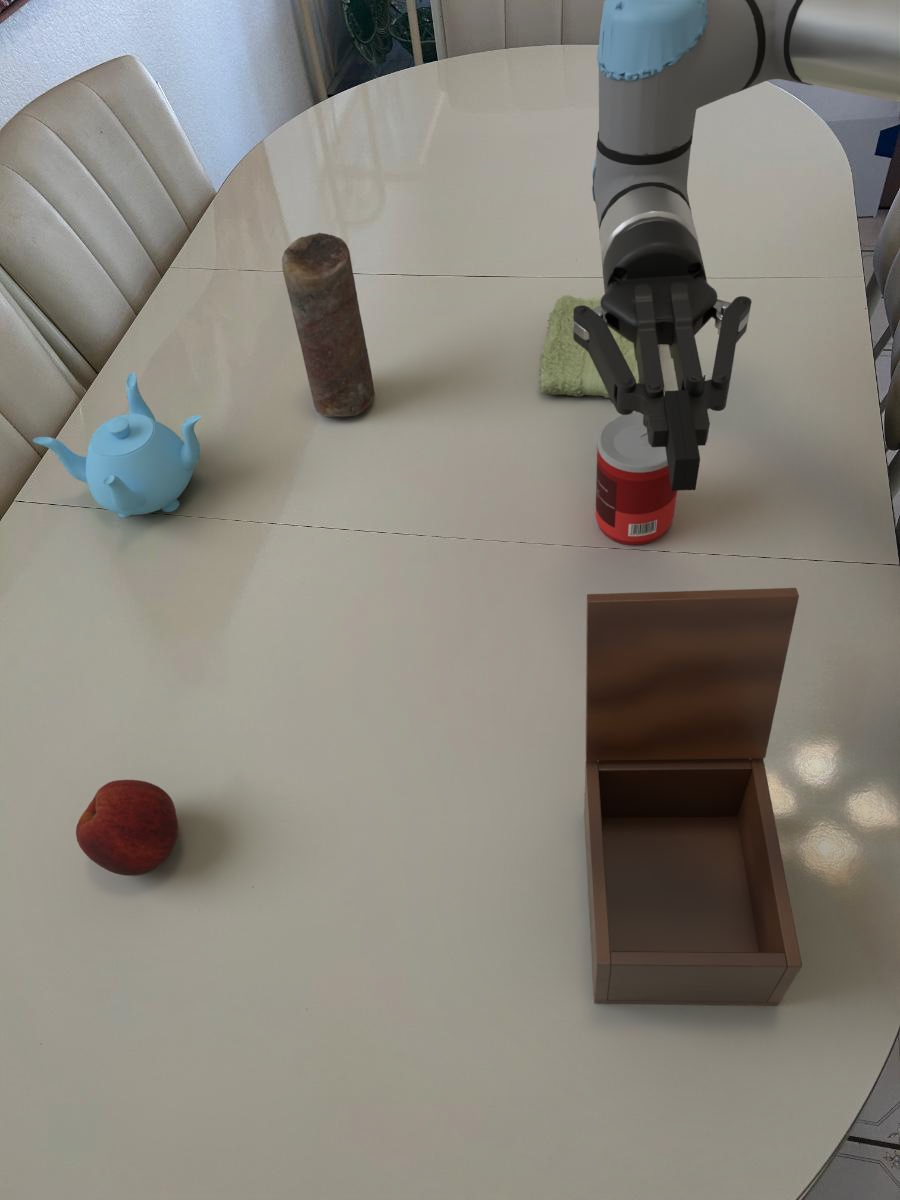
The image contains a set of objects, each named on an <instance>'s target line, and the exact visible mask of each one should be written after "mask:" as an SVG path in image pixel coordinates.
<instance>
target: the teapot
mask: <svg viewBox="0 0 900 1200" xmlns="http://www.w3.org/2000/svg"><path fill="white" fill-rule="evenodd" d="M125 387H126V388H125V389H126V395H127V401H128V409H129V413H126V414H125V413H124V414H120V415H117V416H115V417H114V416H113V417H111V418H110V419H107V420H106V421H105V422H103V423H102V424H100V426H98V428H96V430H95V431H94V432H93V434H92V436H91V439H90V441H89V444H88V449H87V454H86V456H82V455H79V454H76V453H75V452H73V451H72V450H71V449H69V447H67V446H66V445H65V444H64V443H63V442H62V441H60V440H58V439H56V438H55V437H50V436H38V437H35V438H32V442H33V443H34V444H37V445H40V446H42V447H46V448H47V449H49V450H51V451H52V453H54V454H55V456H56V457H57V458H58V460H59V461H60V463H61V464H62V466H63V468H65V470H66V471H67V473H68V474H69V475H70V476H72V477H73V478H74V479H76V480H78V481H79V482H82V483H84V484H85V483H86V484H87V486H88V489H89V492H90V494H91V496H92V497H93V499H94V501H95V502H96V503H97V504H98V505H99V506H101V507H102V508H104V509H106V510H108V511H109V512H114V513H117V515H118V517H120V518H128V517H130V516H137V515H138V516H139V515H140V516H141V515H145V514H151V513H154V512H156V511H159V510H162V512H166V513H171V512H173V511H175V510H176V509H178V508H179V505H180V501H179V500H178V498H179V497H180V496H181V495H182V494H183V492H184V491H185V489H186V488H187V486H188V485H189V483H190V481H191V479H192V476H193V471H194V467H196V466H197V464H198V461H199V460H200V458H201V445H200V442H199V439H198V437H197V435H196V432H195V426H196V424H197V423H198V421H199V420H201V417H202V416H201V415H200V414H195V415H193V416H190V417H188V418H187V419H186V420H184V421H183V423H182V425H181V434H182V438H183V439H182V438H181V437H180V435H178V434H177V433H176V432H175V431H174V430H173V429H171V428H170V427H168V426H167V425H165V424H163V423H161V422H160V421H158V420H156V418H155V415H154V413H153V411H152V410H151V408H150V407H149V406H148V404H147V403H146V401H145V400H144V398H143V396H142V394H141V392H140V389H139V386H138V380H137V375H136V374H135V372H130V373H128V376H127V378H126V383H125Z"/></svg>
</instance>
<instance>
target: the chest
mask: <svg viewBox="0 0 900 1200" xmlns="http://www.w3.org/2000/svg"><path fill="white" fill-rule="evenodd" d="M584 770H585V771H584V772H585V773H584V801H583V802H584V804H583V805H584V807H583V818H584V836H585V852H586V853H585V856H586V873H587V877H586V878H587V892H588V893H587V895H588V909H589V910H588V911H589V912H588V913H589V931H590V950H591V951H590V952H591V966H592V967H591V968H592V971H591V972H592V989H593V1003H594V1004H599V1005H600V1004H601V1005H602V1004H604V1005H605V1004H606V1005H609V1004H610V1005H614V1004H615V1005H677V1006H679V1005H681V1006H743V1007H744V1006H745V1007H747V1006H749V1007H750V1006H751V1007H753V1006H754V1007H778V1006H780V1004H781V1001H782V1000H783V998H784V996H785V995H786V993H787V992H788V990H789V989H790V987H791V985H792V984H793V982H794V981H795V979H796V977H797V976H798V975H799V973H800V971H801V969H802V968H803V963H802V958H801V952H800V947H799V942H798V936H797V932H796V926H795V921H794V916H793V915H794V914H793V909H792V903H791V899H790V894H789V888H788V883H787V878H786V872H785V867H784V861H783V857H782V852H781V851H782V850H781V845H780V841H779V840H780V839H779V836H778V830H777V825H776V820H775V814H774V808H773V803H772V798H771V791H770V787H769V781H768V776H767V772H766V765H765V761H764V758H750V759H669V760H589V761H587V760H586V759H585V768H584Z"/></svg>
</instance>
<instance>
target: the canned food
mask: <svg viewBox="0 0 900 1200" xmlns="http://www.w3.org/2000/svg"><path fill="white" fill-rule="evenodd" d="M643 416H644V415H643V414H641V413H639V412H636V411H633V412H632V413H631V414H629V415H622V414H620V415H619V416H616V417H614V418H613V419H611V420H609V421H608V422H607V423H606V424H604V426H603V427H602V428H601V430H600V432H599V435H598V440H597V452H596V477H595V478H596V481H595V521H596V523H597V525H598V527H599V529H600V531H601V532H602V533H603V535H604V536H606V537H607V538H608V539H610V540H612V541H613V542H615V543H618V544H621V545H627V546H642V545H646V544H650V543H652V542H655V541H656V540H658V539H659V538H661V537H662V536H664V535H665V533H667V531H668V529H669V528H670V526H671V524H672V523H673V520H674V517H675V512H676V511H675V510H676V504H677V496H678V491H672V489H671V483H670V476H669V469H668V462H667V456H666V449H665V447H652V446H651V445H650V444H649V442H648V435H647V427H645V426H644V425H643Z"/></svg>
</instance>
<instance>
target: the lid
mask: <svg viewBox="0 0 900 1200" xmlns="http://www.w3.org/2000/svg"><path fill="white" fill-rule="evenodd" d="M799 599H800V594H799V592H798V589H797V587H779V588H778V587H777V588H747V589H746V588H745V589H713V590H711V589H710V590H682V591H676V590H675V591H648V592H646V591H645V592H618V593H617V592H615V593H613V592H612V593H611V592H610V593H587V594H586V627H585V628H586V629H585V630H586V631H585V633H586V636H585V638H586V641H585V642H586V643H585V647H586V648H585V749H584V750H585V761H586V760H587V761H589V760H669V759H751V758H763V759H765V758H766V756H767V752H768V751H767V750H768V747H769V742H770V736H771V733H772V732H771V731H772V727H773V723H774V717H775V714H776V713H775V712H776V709H777V703H778V698H779V694H780V689H781V685H782V679H783V675H784V669H785V665H786V659H787V655H788V650H789V646H790V641H791V638H792V637H791V636H792V632H793V627H794V622H795V618H796V611H797V607H798V603H799Z"/></svg>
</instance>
